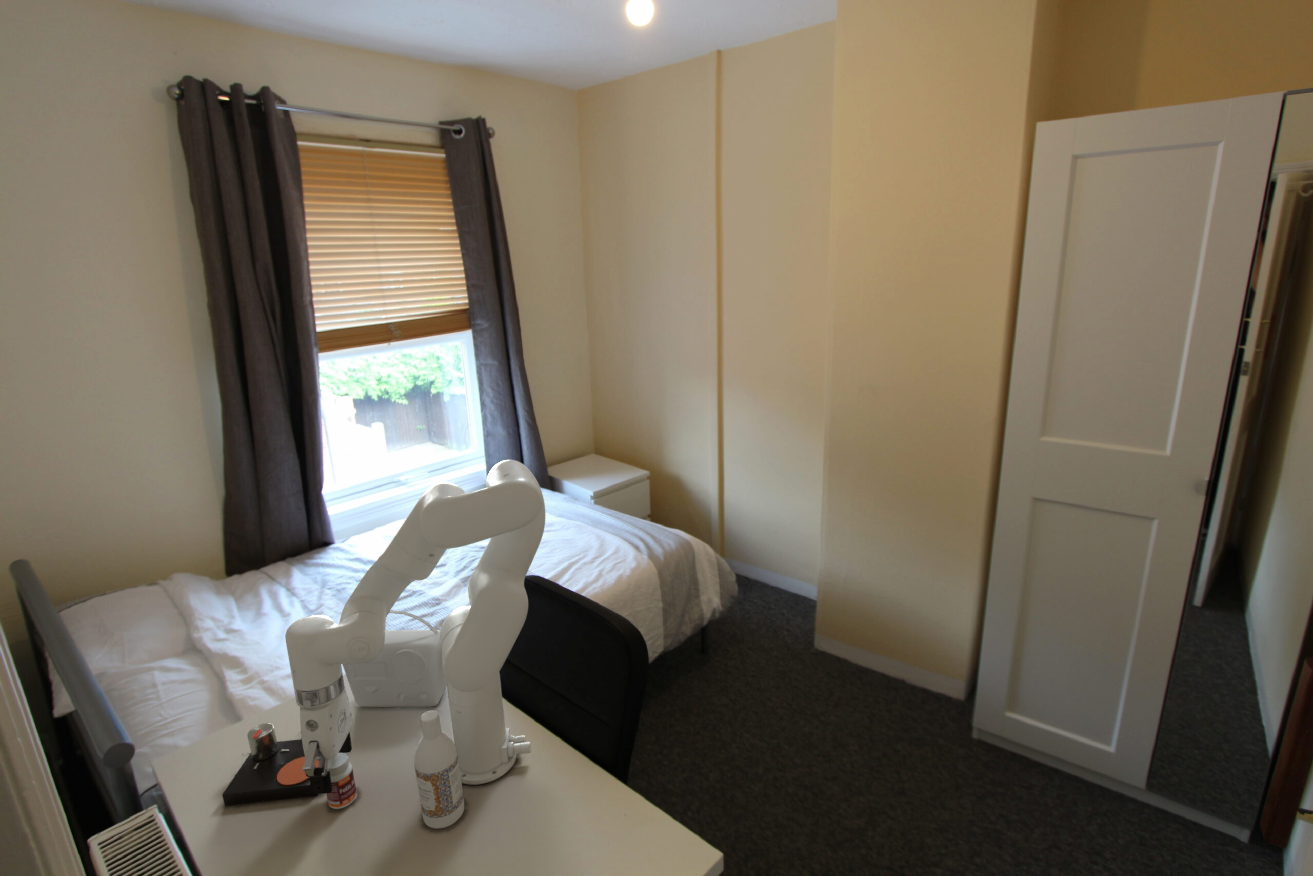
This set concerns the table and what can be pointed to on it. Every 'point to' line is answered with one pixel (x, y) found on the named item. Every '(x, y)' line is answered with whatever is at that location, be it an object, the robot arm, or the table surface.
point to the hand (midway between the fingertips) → (333, 771)
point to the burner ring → (293, 772)
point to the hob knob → (262, 741)
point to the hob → (267, 778)
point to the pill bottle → (341, 782)
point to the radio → (401, 670)
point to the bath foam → (438, 774)
